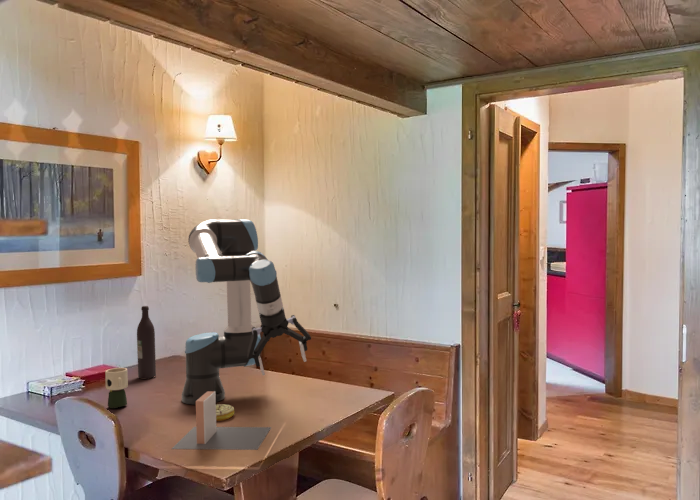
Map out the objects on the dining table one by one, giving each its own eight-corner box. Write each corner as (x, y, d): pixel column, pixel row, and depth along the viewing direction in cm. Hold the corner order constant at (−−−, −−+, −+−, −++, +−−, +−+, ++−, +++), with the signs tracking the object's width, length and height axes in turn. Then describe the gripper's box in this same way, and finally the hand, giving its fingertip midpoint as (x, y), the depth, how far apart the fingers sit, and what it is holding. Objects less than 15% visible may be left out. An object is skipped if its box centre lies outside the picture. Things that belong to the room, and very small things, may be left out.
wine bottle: (143, 375, 245) (141, 305, 244) (159, 375, 244) (156, 305, 243) (134, 379, 238) (132, 307, 237) (151, 379, 237) (148, 307, 236)
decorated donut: (211, 412, 192) (211, 401, 192) (240, 415, 189) (239, 403, 189) (193, 422, 182) (193, 410, 182) (223, 425, 179) (223, 413, 179)
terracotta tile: (208, 431, 171) (207, 391, 171) (216, 431, 171) (215, 391, 171) (196, 443, 161) (195, 401, 161) (205, 443, 161) (204, 401, 161)
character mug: (103, 405, 202) (102, 368, 202) (124, 401, 206) (123, 365, 206) (110, 412, 193) (108, 374, 193) (132, 408, 197) (130, 371, 197)
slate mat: (194, 428, 176) (194, 426, 176) (271, 429, 174) (271, 427, 174) (171, 450, 158) (171, 448, 158) (257, 451, 156) (257, 449, 156)
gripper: (232, 328, 166) (247, 385, 175) (313, 303, 172) (324, 360, 181) (228, 315, 172) (243, 371, 182) (307, 292, 178) (317, 347, 188)
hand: (283, 366), depth 182 cm, fingers open, 13 cm apart
